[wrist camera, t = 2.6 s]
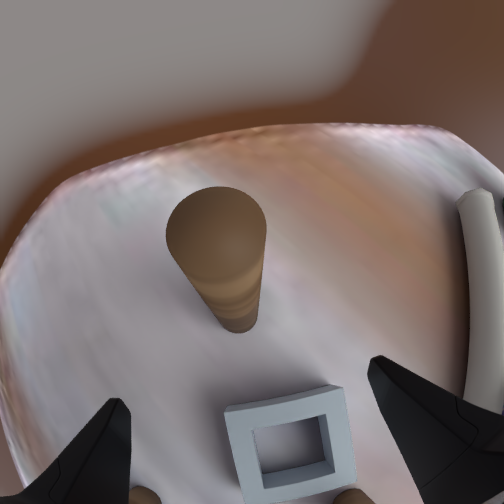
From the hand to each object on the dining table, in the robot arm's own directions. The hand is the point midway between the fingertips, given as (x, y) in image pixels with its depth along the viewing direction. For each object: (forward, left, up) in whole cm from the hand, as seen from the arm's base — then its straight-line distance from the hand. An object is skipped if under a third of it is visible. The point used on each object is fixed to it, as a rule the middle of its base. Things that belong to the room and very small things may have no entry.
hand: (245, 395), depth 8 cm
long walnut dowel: (+5, 0, -12) cm, 13 cm away
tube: (-1, -24, -12) cm, 26 cm away
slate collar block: (-6, -2, -12) cm, 13 cm away
